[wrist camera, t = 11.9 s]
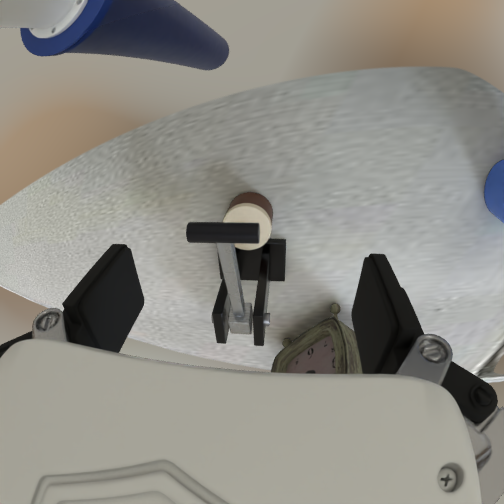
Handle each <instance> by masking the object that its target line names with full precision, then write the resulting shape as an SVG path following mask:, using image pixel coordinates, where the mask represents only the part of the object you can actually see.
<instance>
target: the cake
mask: <svg viewBox="0 0 504 504" xmlns="http://www.w3.org/2000/svg"><path fill="white" fill-rule="evenodd" d="M272 218H273V210H272V206H271V204H270V203H269V201H268V200H267V199H266V198H265V197H264V196H262V195H260V194H258V193H253V192H246V193H242V194H240V195H238V196H237V197H235V198H234V199H233V200H232V202H231V204H230V206H229V208H228V211H227V213H226V215H225V217H224V220H223V222H236V223H259V224H260V241H259V244H243V243H234V245H235V247H237V248H239V249H243V250H254V249H257V248H259V247H261V246H263V245H264V244H265V243H266V242H267V241H268V239H269V237H270V235H271V228H272Z"/></svg>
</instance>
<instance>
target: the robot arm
mask: <svg viewBox="0 0 504 504" xmlns="http://www.w3.org/2000/svg"><path fill="white" fill-rule="evenodd" d="M87 2H88V0H0V28H29V30H30V32H31V33H32V34H33V35H34V36H36V37H37V38H51V37H54V36H57V35H59V34H60V33H62V32H63V31H65V30H66V29H67V28H68V27H70V26H71V25H72V24H73V22H74V21H75V20H76V19H77V18H78V16H79V15H80V14H81V12H82V11H83V9H84V8H85V6H86V4H87ZM62 305H63V307H64V311H63V312H62V311H61V310H60V309H57V308H50V309H47V310H44V311H42V312H41V313H40V314H39V315H38V316H37V317H36V318H35V320H34V321H33V326H32V331H31V332H29V333H26V334H24V335H22V336H20V337H17V338H15V339H13V340H11V341H8V342H6V343H4V344H2V345H1V346H0V504H495V503H496V502H497V501H498V500H499V498H500V497H501V496H502V494H503V493H504V408H503V407H501V408H500V409H499V408H498V406H497V402H498V400H497V395H496V392H495V390H494V389H493V388H492V386H490V385H489V384H488V383H486V382H485V381H483V380H482V379H480V378H478V377H477V376H475V375H473V374H472V373H470V372H469V371H467V370H465V369H464V368H462V367H460V366H459V365H457V364H456V363H454V362H452V361H451V360H452V355H453V353H452V349H451V347H450V345H449V344H448V343H447V341H446V340H444V339H443V338H441V337H440V336H437V335H434V334H424V333H423V330H422V328H421V325H420V323H419V321H418V318H417V316H416V314H415V311H414V309H413V307H412V305H411V302H410V300H409V298H408V296H407V294H406V292H405V290H404V289H403V288H401V287H400V284H399V282H398V280H397V278H396V276H395V274H394V272H393V270H392V268H391V266H390V264H389V262H388V260H387V258H386V256H385V255H384V254H370V255H369V257H365V259H364V262H363V267H362V271H361V276H360V280H359V284H358V288H357V292H356V296H355V300H354V304H353V308H352V322H353V327H354V331H355V336H356V341H357V346H358V351H359V356H360V362H361V367H362V373H363V374H299V373H274V372H256V371H244V370H232V369H221V368H211V367H203V366H194V365H187V364H179V363H172V362H166V361H159V360H153V359H148V358H142V357H136V356H131V355H126V354H121V353H119V351H120V349H121V348H122V345H123V344H124V342H125V340H126V338H127V336H128V334H129V332H130V330H131V328H132V326H133V325H134V323H135V321H136V319H137V317H138V315H139V313H140V312H141V310H142V308H143V306H144V296H143V293H142V289H141V286H140V282H139V279H138V275H137V271H136V267H135V264H134V260H133V256H132V252H131V249H130V248H128V247H127V245H125V244H113V245H111V246H110V248H109V249H108V250H107V251H106V252H105V253H104V254H103V255H102V257H101V258H100V259H99V260H98V261H97V262H96V263H95V265H94V266H93V267H92V268H91V269H90V270H89V272H88V273H87V274H86V275H85V276H84V277H83V279H82V280H81V281H80V282H79V284H78V285H77V286H76V287H75V288H74V290H73V291H72V292H71V293H70V295H69V296H68V297H67V298H66V300H65V301H64V302H63V303H62Z"/></svg>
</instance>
